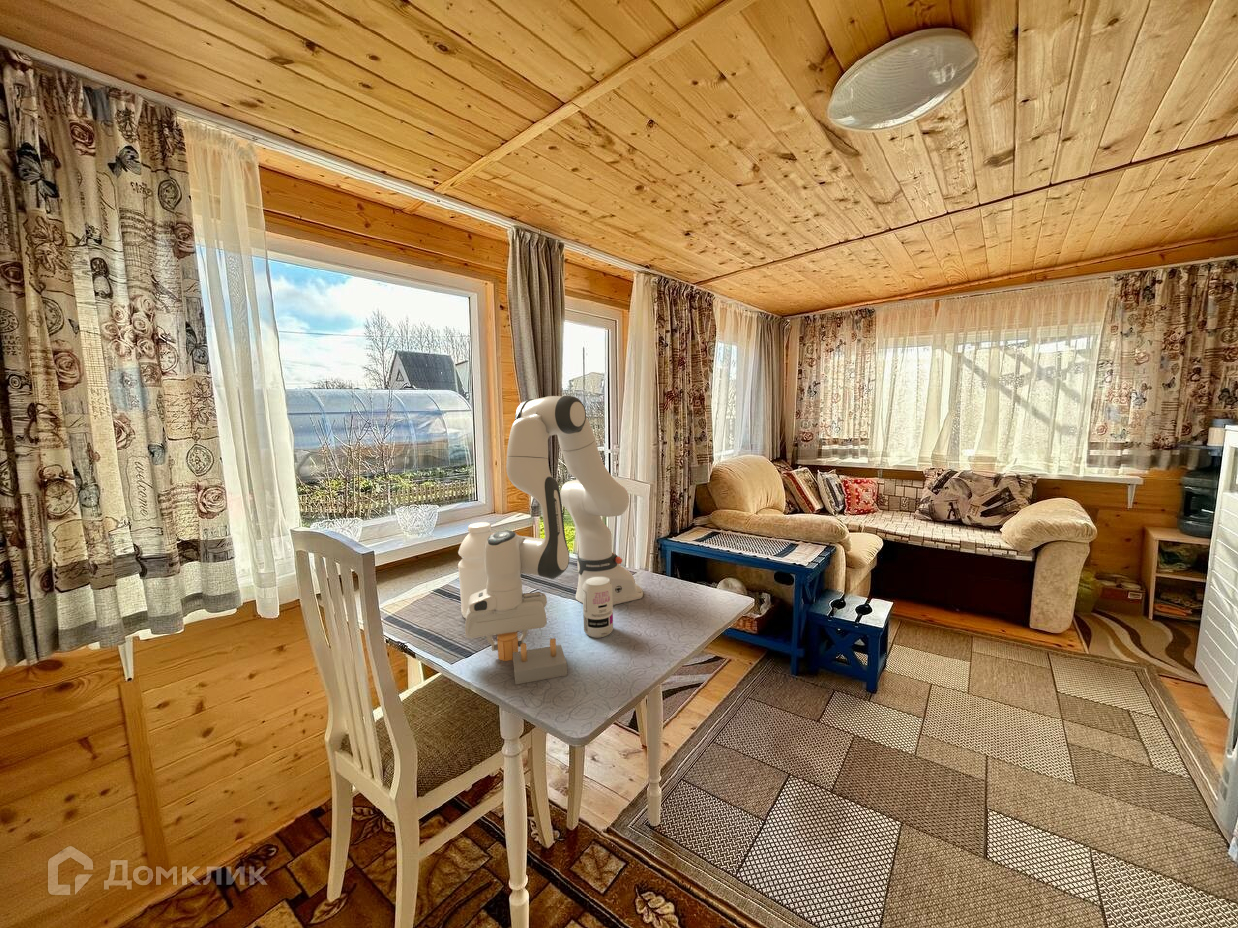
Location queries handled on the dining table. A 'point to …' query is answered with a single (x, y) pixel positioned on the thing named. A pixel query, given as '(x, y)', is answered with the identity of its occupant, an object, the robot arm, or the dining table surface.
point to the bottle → (473, 562)
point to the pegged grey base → (539, 663)
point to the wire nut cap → (507, 645)
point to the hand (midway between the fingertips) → (508, 647)
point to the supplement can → (597, 606)
